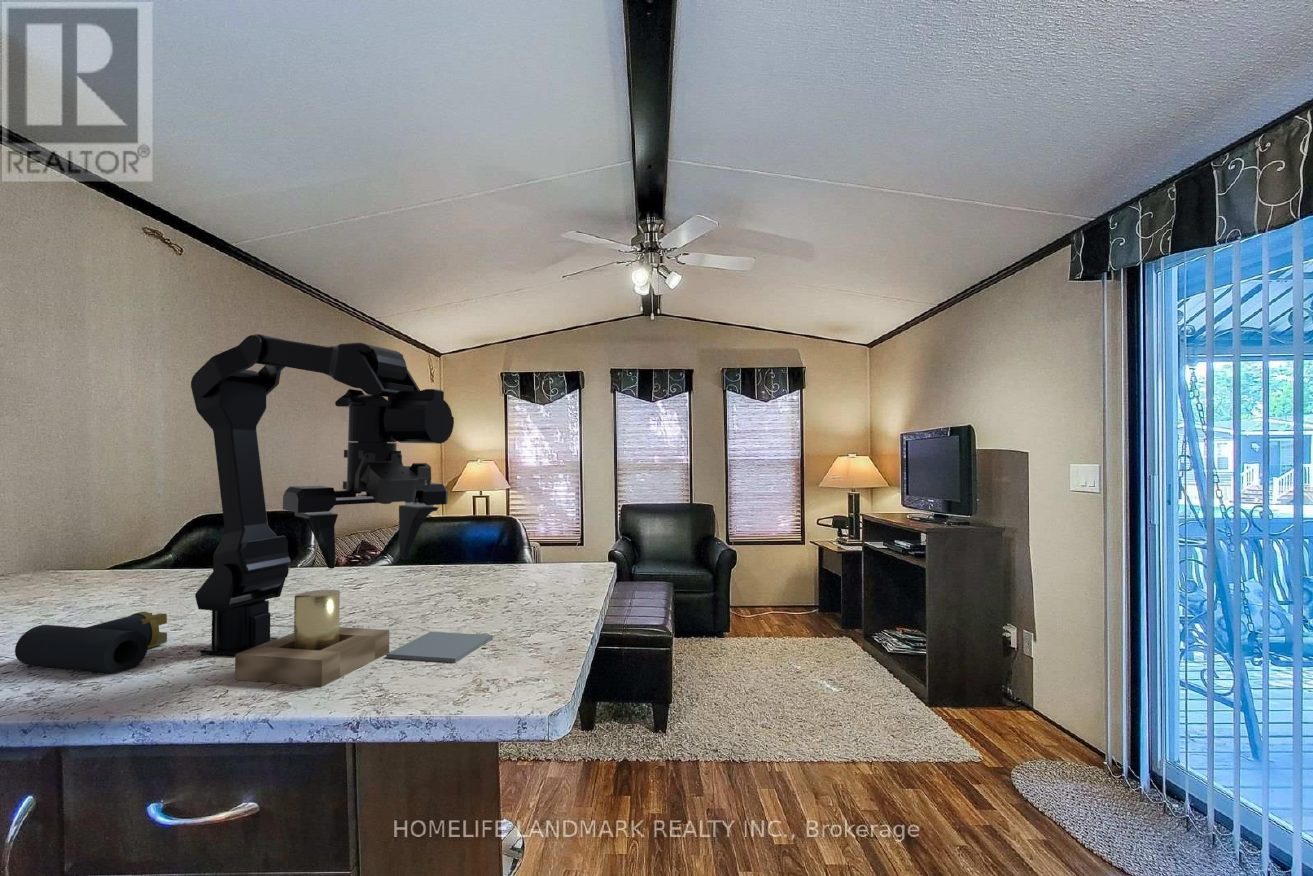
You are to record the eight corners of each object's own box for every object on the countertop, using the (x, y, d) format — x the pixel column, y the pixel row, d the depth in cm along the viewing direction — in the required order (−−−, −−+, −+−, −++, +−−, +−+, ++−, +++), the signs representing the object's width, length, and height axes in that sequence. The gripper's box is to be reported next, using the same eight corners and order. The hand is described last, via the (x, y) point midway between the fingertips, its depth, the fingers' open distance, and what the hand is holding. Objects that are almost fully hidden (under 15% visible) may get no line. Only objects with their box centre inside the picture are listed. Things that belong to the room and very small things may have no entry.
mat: (386, 657, 77) (386, 654, 77) (430, 635, 87) (430, 631, 87) (455, 662, 75) (455, 658, 75) (492, 638, 85) (492, 635, 85)
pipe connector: (116, 606, 86) (197, 611, 83) (116, 642, 86) (197, 649, 83) (14, 630, 75) (103, 637, 72) (14, 672, 75) (103, 681, 72)
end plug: (284, 671, 73) (284, 598, 73) (315, 657, 78) (315, 589, 78) (318, 673, 72) (319, 599, 72) (348, 659, 77) (348, 590, 77)
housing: (235, 679, 70) (235, 654, 70) (313, 647, 82) (313, 625, 82) (321, 686, 68) (321, 660, 68) (389, 652, 80) (389, 630, 80)
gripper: (318, 441, 64) (314, 585, 64) (471, 444, 78) (467, 562, 78) (283, 440, 71) (279, 570, 71) (428, 443, 86) (425, 551, 85)
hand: (369, 563), depth 76 cm, fingers open, 9 cm apart
